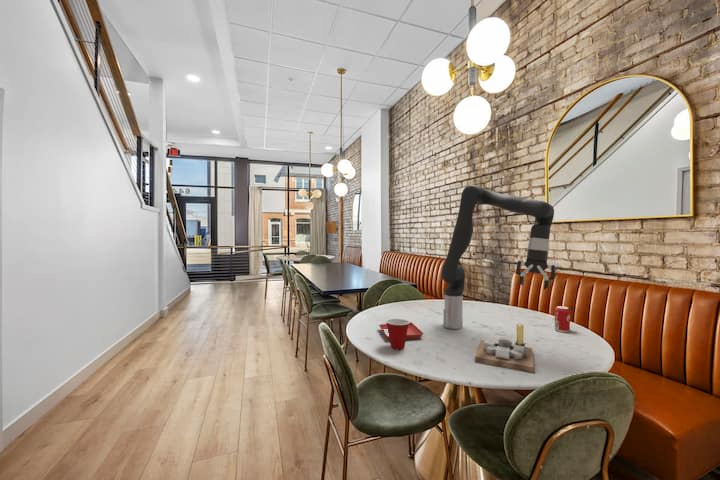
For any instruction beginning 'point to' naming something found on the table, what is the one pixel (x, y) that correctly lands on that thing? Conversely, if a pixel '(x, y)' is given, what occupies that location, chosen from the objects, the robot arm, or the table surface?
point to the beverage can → (562, 319)
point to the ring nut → (505, 349)
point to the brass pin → (520, 334)
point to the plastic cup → (397, 332)
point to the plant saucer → (411, 331)
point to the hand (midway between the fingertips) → (533, 287)
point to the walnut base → (517, 364)
